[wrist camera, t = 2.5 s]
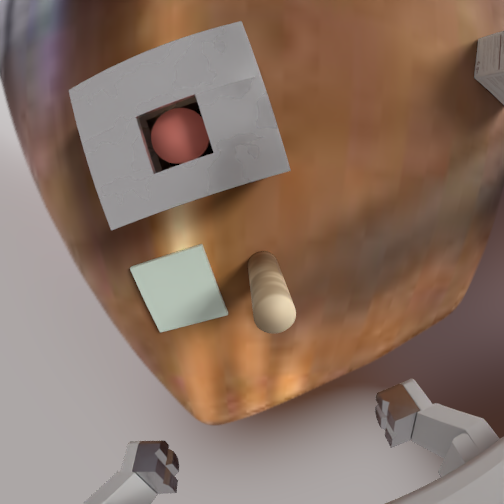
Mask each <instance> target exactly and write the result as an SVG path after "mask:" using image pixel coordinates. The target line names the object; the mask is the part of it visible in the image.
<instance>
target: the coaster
mask: <svg viewBox="0 0 504 504" xmlns="http://www.w3.org/2000/svg"><path fill="white" fill-rule="evenodd" d="M130 270H131V272H132V275H133V277H134V279H135V281H136V284H137V286H138V288H139V290H140V292H141V294H142V297H143V299H144V301H145V303H146V305H147V307H148V309H149V311H150V313H151V315H152V317H153V319H154V321H155V323H156V325H157V327H158V329H159V331H160V332H164V331H168V330H172V329H176V328H180V327H184V326H188V325H192V324H196V323H200V322H204V321H207V320H211V319H215V318H219V317H222V316H226V315H228V311H227V308H226V306H225V303H224V300H223V298H222V295H221V293H220V290H219V287H218V285H217V282H216V280H215V277H214V274H213V272H212V269H211V266H210V264H209V261H208V258H207V255H206V253H205V250H204V247H203V244H199V245H196V246H193V247H190V248H187V249H183V250H180V251H177V252H174V253H171V254H168V255H165V256H162V257H159V258H156V259H153V260H149V261H146V262H143V263H140V264H137V265H134V266H131V268H130Z"/></svg>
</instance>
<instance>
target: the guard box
mask: <svg viewBox="0 0 504 504" xmlns="http://www.w3.org/2000/svg"><path fill="white" fill-rule="evenodd" d="M69 94H70V99H71V103H72V107H73V111H74V115H75V119H76V123H77V127H78V131H79V135H80V138H81V142H82V146H83V149H84V152H85V156H86V159H87V162H88V166H89V169H90V172H91V175H92V178H93V181H94V184H95V187H96V190H97V193H98V196H99V199H100V202H101V205H102V207H103V210H104V213H105V215H106V218H107V221H108V223H109V226H110V229H111V230H114V229H116V228H119V227H122V226H124V225H127V224H129V223H132V222H135V221H137V220H140V219H143V218H145V217H148V216H151V215H154V214H156V213H159V212H162V211H165V210H168V209H170V208H173V207H176V206H179V205H182V204H185V203H188V202H191V201H194V200H196V199H199V198H202V197H206V196H209V195H212V194H215V193H218V192H221V191H224V190H227V189H230V188H234V187H237V186H240V185H243V184H247V183H250V182H253V181H256V180H260V179H263V178H267V177H270V176H274V175H277V174H281V173H284V172H288V171H291V170H290V167H289V163H288V160H287V156H286V153H285V150H284V146H283V143H282V140H281V136H280V133H279V130H278V126H277V123H276V120H275V117H274V114H273V110H272V107H271V104H270V101H269V98H268V95H267V92H266V89H265V86H264V83H263V80H262V77H261V74H260V71H259V68H258V65H257V62H256V60H255V57H254V54H253V51H252V48H251V46H250V43H249V40H248V37H247V35H246V32H245V29H244V27H243V24H242V21H240V22H236V23H232V24H228V25H224V26H220V27H217V28H213V29H209V30H206V31H203V32H199V33H196V34H193V35H190V36H187V37H184V38H181V39H178V40H175V41H172V42H169V43H167V44H164V45H161V46H159V47H156V48H154V49H151V50H149V51H146V52H144V53H141V54H139V55H137V56H134V57H132V58H130V59H128V60H125V61H123V62H121V63H119V64H117V65H115V66H113V67H111V68H109V69H107V70H105V71H103V72H101V73H99V74H97V75H95V76H93V77H91V78H89V79H87V80H86V81H84V82H82V83H80V84H79V85H77V86H75V87H73V88H72V89H70V90H69ZM174 108H187V109H190V110H195V109H198V108H199V109H200V112H201V115H202V118H203V121H204V124H205V127H206V131H207V134H208V137H209V140H210V143H211V146H212V149H213V153H212V154H209V155H206V156H203V157H200V158H197V159H194V160H191V161H188V162H185V163H183V164H180V165H177V166H174V167H172V168H170V165H169V162H167V161H165V160H163V159H162V158H160V157H159V156H158V155H157V153H156V152H155V150H154V148H153V146H152V142H151V133H152V129H153V126H154V124H155V122H156V121H157V119H158V118H159V117H160V116H161V115H162V114H164V113H165V112H167V111H169V110H171V109H174Z"/></svg>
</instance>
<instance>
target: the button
mask: <svg viewBox="0 0 504 504" xmlns="http://www.w3.org/2000/svg"><path fill="white" fill-rule="evenodd" d="M151 142H152V146H153V148H154V150H155V152H156V153H157V155H158V156H159V157H160V158H162V159H163V160H165V161H167V162H170V163H176V164H180V163H185V162H188V161H191V160H194V159H197V158H199V157H201V156H202V155H203V154H204V153H205V151H206V150H207V148H208V146H209V143H210V140H209V137H208V134H207V131H206V127H205V124H204V121H203V118H202V117H201V116H200V115H199V114H198V113H196V112H195V111H193V110H190V109H187V108H174V109H171V110H169V111H167V112H165V113H164V114H162V115H161V116H160V117H159V118H158V119H157V121H156V122H155V124H154V126H153V129H152V133H151Z"/></svg>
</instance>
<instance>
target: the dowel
mask: <svg viewBox="0 0 504 504" xmlns="http://www.w3.org/2000/svg"><path fill="white" fill-rule="evenodd" d="M248 273H249V281H250V290H251V298H252V307H253V315H254V321H255V324H256V325H257V327H258V328H259V329H261V330H262V331H264V332H267V333H280V332H283V331H285V330H287V329H288V328H289V327H290V326H291V325H292V324H293V322H294V320H295V318H296V310H295V307H294V304H293V302H292V299H291V296H290V294H289V291H288V288H287V286H286V283H285V280H284V278H283V275H282V273H281V270H280V267H279V265H278V262H277V259H276V258H275V256H274V255H273V254H271V253H270V252H267V251H260V252H257V253H255V254H253V255H252V256H251V257H250V259H249V261H248Z"/></svg>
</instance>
